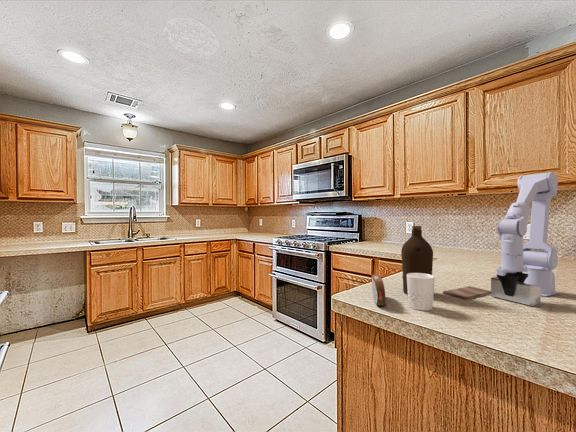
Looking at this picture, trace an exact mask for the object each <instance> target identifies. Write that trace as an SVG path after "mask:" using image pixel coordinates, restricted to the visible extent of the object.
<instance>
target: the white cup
mask: <svg viewBox="0 0 576 432" xmlns="http://www.w3.org/2000/svg"><path fill="white" fill-rule="evenodd" d="M407 291H408V294H407V298H408V307H410V308H411V309H414V310H416V311H417V310H418V311H424V312H427V311H432V310H433V306H434V304H433V303H434V295H435V293H434V292H435V275H433V274H432V275H430V274H424V273H408V274H407Z"/></svg>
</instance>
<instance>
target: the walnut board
mask: <svg viewBox="0 0 576 432" xmlns="http://www.w3.org/2000/svg"><path fill="white" fill-rule="evenodd" d="M442 294H443V295H448V296H451V297H455V298H459V299H462V300H470V299H474V298H479V297H483V296H488V295H491V290H487V289H484V288H483V289H482V288H478V287H474V286H464V287H459V288H455V289H448V290H444V291H443V290H442Z"/></svg>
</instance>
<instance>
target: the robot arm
mask: <svg viewBox="0 0 576 432" xmlns="http://www.w3.org/2000/svg"><path fill="white" fill-rule="evenodd" d="M516 183H517V188H518V191H519V192H518V195H517V199H516V202H512V203H511V205H509V208H508V210H507V213H506V215H505V216H504V218H502V219H501V220H498V222H497V226H496V230H497V231H496V232H497V233H498V239H499V241H500V257H501V259H500V260H501V262H500V265H501V266H499V268H496V271H495V273H496V277H498V278H499V280H500V282H501V284H502V287H503V290H504V293H505V295H507V296H513V295H514V290H515V285H516V282H522V283H527V284H533V285H538V286H540V287H541V296H542V297H551V296H553V295H557V294H559V293H560V292H559V291H557V290H556V275H555V272H553V270H555V269H557V267H558V264H559V257H558V250H557V249H556V248H555V247H554V246H553V245H552V244H550V243H549V242H548V230H549V221H550V220H549V218H550V205H551V200H552V198H554V197H556V196H557V192H558V189H559V188H558V186H559V185H558V184H559V180H558V174H556V173H555V172H554V171H548V172H542V173H541V172H540V173H533V174H521V175H520V176H519V177H518V179H517V182H516ZM529 217H530V227H529V236H528V237H529V238H528V241H527V242H525V243H524V237H525V236H526V234H527V232H528V225H529V224H528V219H529Z"/></svg>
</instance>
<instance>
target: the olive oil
mask: <svg viewBox="0 0 576 432" xmlns="http://www.w3.org/2000/svg"><path fill="white" fill-rule="evenodd" d="M411 228H412V229H411V237H409V239H407V240H406V241H405V242H404V243H403V244H402V246H401V251H400V253H401V254H400V255H401V266H402V267H401V268H402V269H401V270H402V286H403V288H402V290H403V291H402V292H403V293H404V294H406V295H408V291H407V274H408V273H424V274H430V275H433V267H434V266H433V263H434V262H433V260H434V251H433V247H432V245H431V244H430V243H429V242H428V241H427V240H426V239H425V238H424V237H423V235H422V234H423V233H422V232H423V230H422V225H411Z"/></svg>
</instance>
